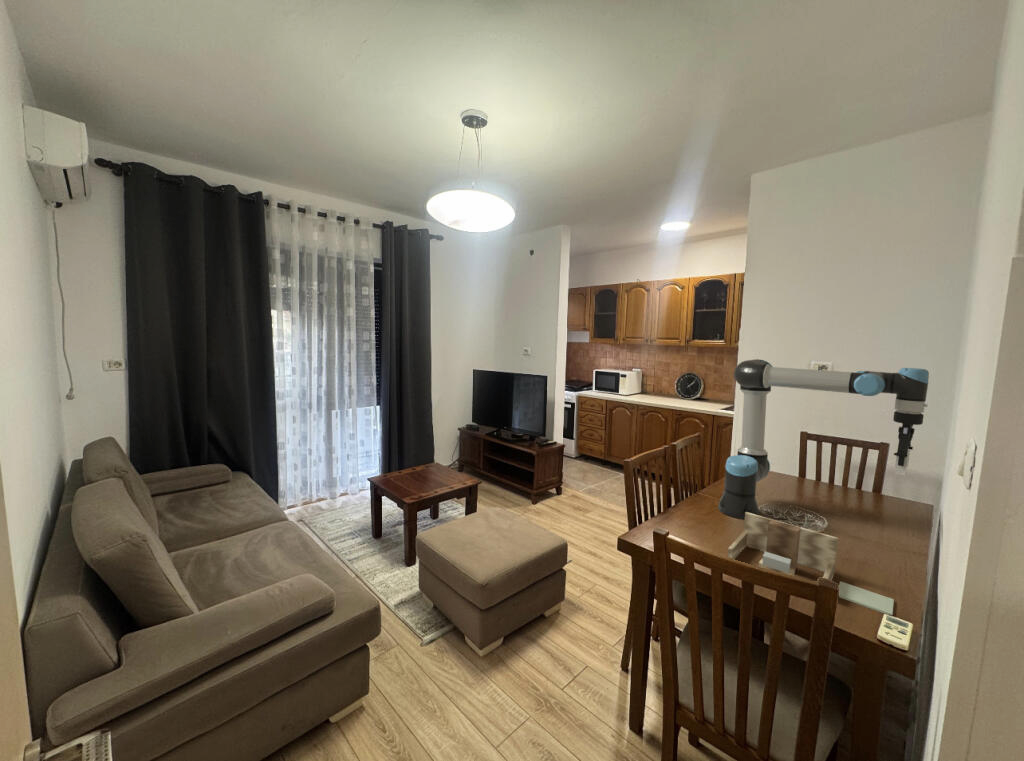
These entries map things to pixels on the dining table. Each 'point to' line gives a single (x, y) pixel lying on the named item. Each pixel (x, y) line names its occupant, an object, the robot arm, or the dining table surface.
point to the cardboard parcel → (783, 541)
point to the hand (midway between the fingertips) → (901, 470)
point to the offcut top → (776, 562)
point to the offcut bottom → (775, 569)
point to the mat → (866, 598)
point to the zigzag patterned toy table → (812, 544)
